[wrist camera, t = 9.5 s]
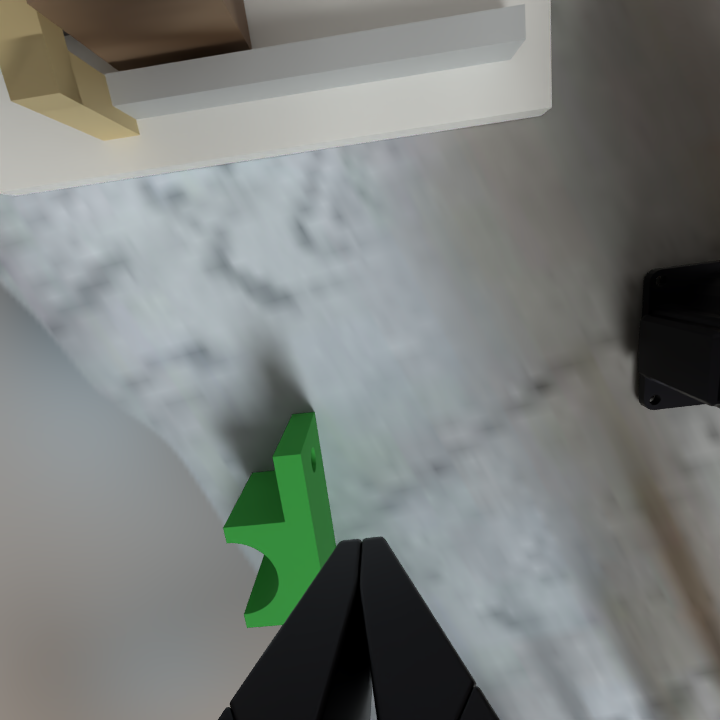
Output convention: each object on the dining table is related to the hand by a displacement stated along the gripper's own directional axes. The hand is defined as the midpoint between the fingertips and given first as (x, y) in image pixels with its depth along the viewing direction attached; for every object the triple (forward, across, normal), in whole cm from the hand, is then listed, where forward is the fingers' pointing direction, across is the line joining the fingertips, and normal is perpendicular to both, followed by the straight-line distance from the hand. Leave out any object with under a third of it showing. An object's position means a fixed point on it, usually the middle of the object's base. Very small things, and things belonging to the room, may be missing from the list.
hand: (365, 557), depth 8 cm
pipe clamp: (+12, +5, +7) cm, 15 cm away
